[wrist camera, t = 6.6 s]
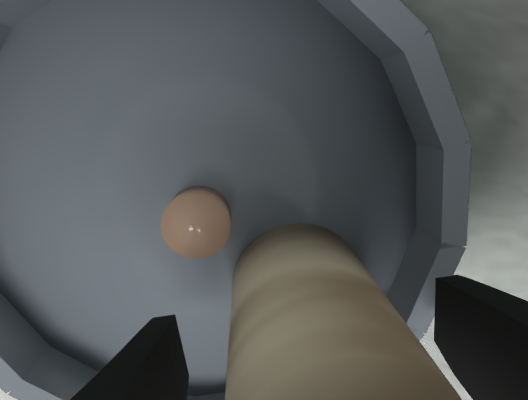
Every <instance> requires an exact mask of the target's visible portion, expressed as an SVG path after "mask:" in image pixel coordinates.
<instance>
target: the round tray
mask: <svg viewBox="0 0 528 400" xmlns="http://www.w3.org/2000/svg"><path fill="white" fill-rule="evenodd" d="M427 30H428V28H427V27H426V26H425V25H424V24H423V23H422V22H421V21H420V20H419V19H418V18H417V17H416V16H415V15H414V14H413V13H412V12H411V11H410V10H409V9H408V8H407V7H406V6H405V5H404V4H403V3H402V2H401V1H400V0H0V388H1V389H2V390H3V391H4V392H5V393H7V392H9V391H11V392H10V393H9V394H8V395H10V396H12V397H14V398H16V399H18V400H70V399H71V398H72V397H73V396H74V395H75V394H76V393H77V392H79V391H80V390H81V389H82V388H83V387H84V386H85V385H86V384H87V383H88V382H89V381H90V380H91V379H92V378H93V377H94V376H96V375H97V374H98V373H99V372H100V371H101V370H102V369H103V368H104V367H105V366H106V365H107V364H108V363H109V362H110V361H111V359H112V358H113V357H114V356H115V355H116V354H117V353H118V352H119V351H120V350H121V349H122V348H123V347H124V346H125V345H126V344H127V343H128V342H129V341H130V340H131V339H132V338H133V337H134V336H135V335H136V334H137V333H138V332H139V331H140V330H141V329H142V328H143V327H144V326H145V325H146V324H147V323H148V322H149V321H150V320H151V319H152V318H153V317H161V316H168V315H175V316H176V320H177V325H178V329H179V333H180V338H181V342H182V346H183V351H184V355H185V359H186V364H187V368H188V373H189V382H188V393H187V400H225V389H226V374H227V359H228V345H229V330H230V315H231V300H232V285H233V275H234V270H235V267H236V264H237V262H238V260H239V258H240V256H241V254H242V253H243V252H244V250H245V249H246V248H247V246H248V245H249V244H250V243H251V242H252V241H254V240H255V239H256V238H257V237H259V236H260V235H262V234H263V233H265V232H267V231H269V230H271V229H273V228H276V227H279V226H283V225H288V224H296V223H304V224H312V225H317V226H321V227H323V228H326V229H328V230H330V231H332V232H334V233H335V234H337V235H338V236H340V237H341V238H342V239H343V240H344V241H345V242H346V243H347V244H348V245H349V246H350V248H351V249H352V250H353V252H354V253H355V254H356V256H357V257H358V258H359V260H360V261H361V263H362V264H363V265H364V267H365V268H366V269H367V271H368V272H369V273H370V275H371V276H372V278H373V279H374V280H375V282H376V283H377V284H378V286H379V287H380V288H381V290H382V291H383V293H384V294H385V295H386V297H387V298H388V299H389V301H390V302H391V303H392V305H393V306H394V308H395V309H396V310H397V312H398V313H399V314H400V316H401V317H402V318H403V320H404V321H405V323H406V324H407V325H408V327H409V328H410V329H411V331H412V332H413V333H414V335H415V336H416V338H417V339H418V340H420V339H421V338H422V337H423V336H424V334H423V333H426V332H427V330H428V328H429V326H430V324H431V321H432V319H433V317H434V315H435V281H436V278H439V277H446V276H453V274H454V272H455V270H456V268H457V266H458V264H459V261H460V259H461V257H462V255H463V253H464V251H465V249H466V248H465V247H463V246H466V242H467V223H468V203H469V183H470V163H471V143H469V142H468V141H470V140H471V138H470V136H469V133H468V130H467V128H466V125H465V122H464V120H463V117H462V114H461V112H460V109H459V106H458V104H457V101H456V98H455V96H454V93H453V91H452V88H451V85H450V83H449V80H448V77H447V75H446V72H445V69H444V67H443V64H442V61H441V59H440V56H439V53H438V51H437V48H436V45H435V43H434V40H433V37H432V35H431V32H428V33H426V31H427ZM425 33H426V34H425ZM422 332H423V333H422Z"/></svg>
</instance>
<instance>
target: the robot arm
mask: <svg viewBox="0 0 528 400" xmlns="http://www.w3.org/2000/svg"><path fill="white" fill-rule="evenodd" d="M434 341H435V343H436V344H437V346H438V348H439V350H440V351H441V353H442V355H443V357H444V358H445V360H446V362H447V363H448V365H449V367H450V368H451V370H452V372H453V373H454V375H455V376H456V378H457V379H458V380H459V382H460V383H461V384H462V386H463V387H464V388H465V390H466V391H467V392H468V394H469V395H470V396H471V398H472V399H473V400H528V301H525V300H523V299H520V298H518V297H515V296H513V295H510V294H508V293H505V292H503V291H500V290H498V289H495V288H493V287H490V286H488V285H485V284H482V283H480V282H477V281H474V280H472V279H469V278H466V277H463V276H459V275H453V276H446V277H439V278H436V281H435V325H434ZM188 382H189V373H188V368H187V364H186V359H185V355H184V351H183V346H182V342H181V338H180V333H179V329H178V325H177V320H176V316H175V315H168V316H161V317H153V318H152V319H151V320H150V321H149V322H148V323H147V324H146V325H145V326H144V327H143V328H142V329H141V330H140V331H139V332H138V333H137V334H136V335H135V336H134V337H133V338H132V339H131V340H130V341H129V342H128V343H127V344H126V345H125V346H124V347H123V348H122V349H121V350H120V351H119V352H118V353H117V354H116V355H115V356H114V357H113V358H112V359H111V361H110V362H109V363H108V364H107V365H106V366H105V367H104V368H103V369H102V370H101V371H100V372H99V373H98V374H97V375H96V376H94V377H93V378H92V379H91V380H90V381H89V382H88V383H87V384H86V385H85V386H84V387H83V388H82V389H81V390H80V391H79V392H77V393H76V394H75V395H74V396H73V397H72V398H71V399H70V400H187V393H188Z"/></svg>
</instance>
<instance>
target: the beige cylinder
mask: <svg viewBox="0 0 528 400" xmlns="http://www.w3.org/2000/svg"><path fill="white" fill-rule="evenodd" d="M225 400H462V399H461V398H460V396H459V395H458V393H457V392H456V391H455V389H454V388H453V387H452V385H451V384H450V383H449V381H448V380H447V378H446V377H445V376H444V374H443V373H442V372H441V370H440V369H439V368H438V366H437V365H436V363H435V362H434V361H433V359H432V358H431V357H430V355H429V354H428V353H427V351H426V350H425V348H424V347H423V346H422V344H421V343H420V342H419V340H418V339H417V338H416V336H415V335H414V333H413V332H412V331H411V329H410V328H409V327H408V325H407V324H406V323H405V321H404V320H403V318H402V317H401V316H400V314H399V313H398V312H397V310H396V309H395V308H394V306H393V305H392V303H391V302H390V301H389V299H388V298H387V297H386V295H385V294H384V293H383V291H382V290H381V288H380V287H379V286H378V284H377V283H376V282H375V280H374V279H373V278H372V276H371V275H370V273H369V272H368V271H367V269H366V268H365V267H364V265H363V264H362V263H361V261H360V260H359V258H358V257H357V256H356V254H355V253H354V252H353V250H352V249H351V248H350V246H349V245H348V244H347V243H346V242H345V241H344V240H343V239H342V238H341V237H340V236H338V235H337V234H335V233H334V232H332V231H330V230H328V229H326V228H323V227H321V226H317V225H312V224H304V223H296V224H288V225H283V226H279V227H276V228H273V229H271V230H269V231H267V232H265V233H263V234H262V235H260V236H259V237H257V238H256V239H255V240H254V241H252V242H251V243H250V244H249V245H248V246H247V248H246V249H245V250H244V252H243V253H242V254H241V256H240V258H239V260H238V262H237V264H236V267H235V270H234V275H233V285H232V300H231V315H230V330H229V345H228V359H227V374H226V389H225Z"/></svg>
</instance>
